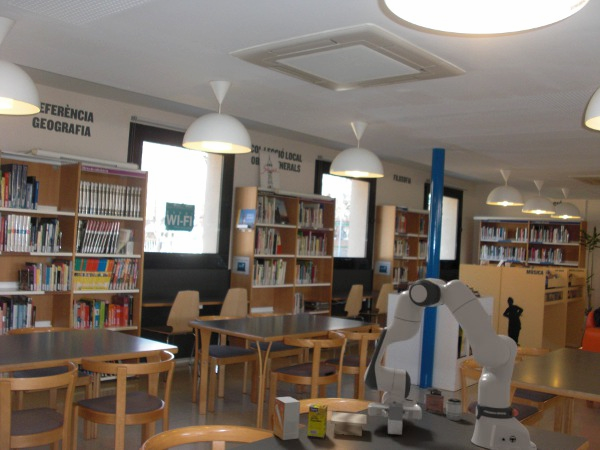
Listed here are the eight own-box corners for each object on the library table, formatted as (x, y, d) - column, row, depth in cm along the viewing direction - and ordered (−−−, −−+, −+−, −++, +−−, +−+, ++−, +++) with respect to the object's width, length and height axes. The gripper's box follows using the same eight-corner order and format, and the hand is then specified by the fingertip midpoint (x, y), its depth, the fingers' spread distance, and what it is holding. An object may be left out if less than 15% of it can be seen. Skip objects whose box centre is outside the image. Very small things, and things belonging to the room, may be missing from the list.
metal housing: (401, 430, 241) (402, 403, 242) (401, 434, 237) (403, 407, 237) (387, 429, 242) (388, 402, 242) (388, 433, 237) (389, 406, 237)
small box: (272, 433, 232) (274, 397, 233) (288, 432, 235) (290, 396, 236) (282, 440, 225) (284, 402, 226) (298, 438, 228) (300, 401, 229)
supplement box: (323, 439, 229) (325, 408, 229) (307, 437, 230) (308, 406, 230) (326, 435, 234) (328, 404, 235) (310, 433, 236) (311, 403, 236)
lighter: (444, 412, 277) (445, 389, 278) (441, 414, 275) (442, 390, 275) (426, 409, 282) (427, 386, 282) (423, 410, 279) (424, 387, 279)
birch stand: (365, 427, 247) (366, 414, 247) (365, 437, 234) (366, 423, 234) (331, 425, 248) (332, 411, 248) (329, 434, 235) (330, 420, 235)
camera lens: (450, 415, 273) (451, 397, 273) (464, 419, 269) (464, 400, 269) (443, 418, 268) (444, 399, 268) (457, 421, 264) (457, 402, 264)
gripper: (367, 397, 253) (367, 405, 240) (420, 401, 251) (423, 409, 238) (366, 413, 253) (366, 422, 239) (419, 417, 251) (422, 427, 237)
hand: (395, 416), depth 239 cm, fingers closed on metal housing, 5 cm apart
